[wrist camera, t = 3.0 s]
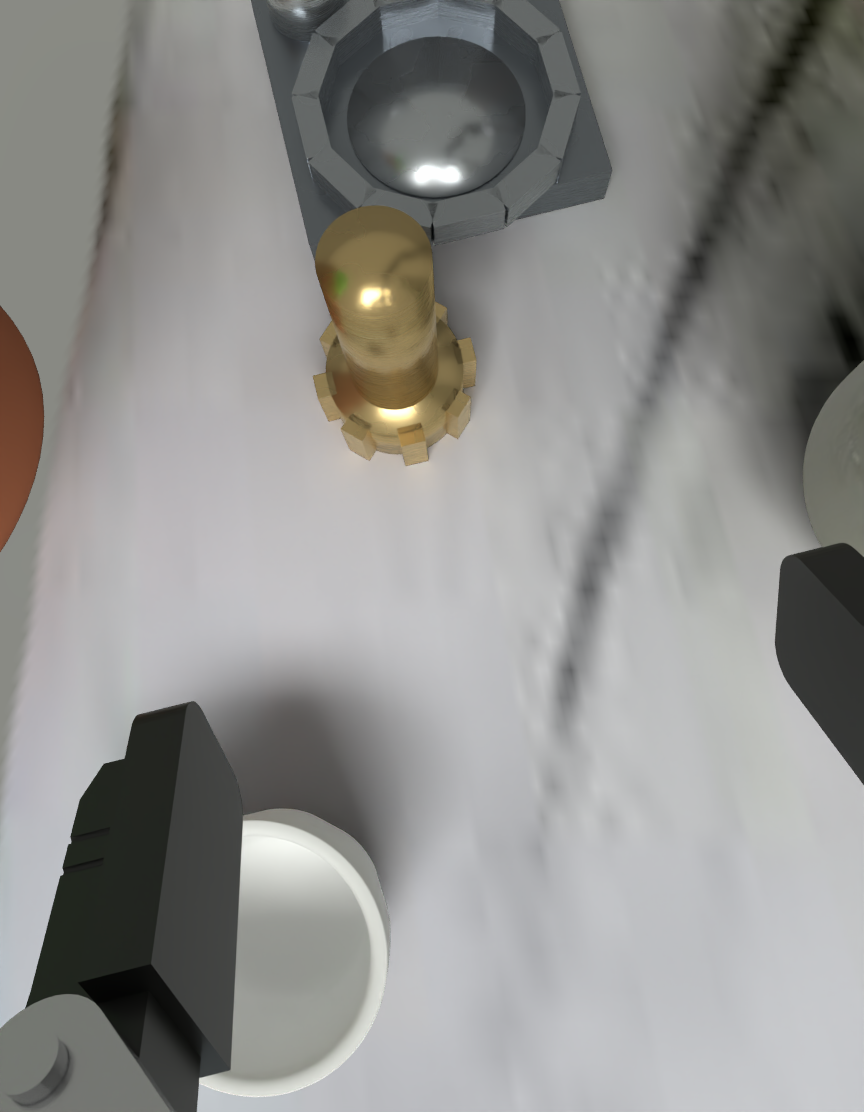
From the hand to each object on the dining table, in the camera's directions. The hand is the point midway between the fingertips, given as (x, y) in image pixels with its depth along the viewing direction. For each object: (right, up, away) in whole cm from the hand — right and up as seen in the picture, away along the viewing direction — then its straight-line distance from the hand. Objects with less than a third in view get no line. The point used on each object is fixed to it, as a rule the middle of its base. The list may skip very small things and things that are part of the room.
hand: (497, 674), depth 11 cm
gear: (-2, +8, +21) cm, 22 cm away
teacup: (-7, -10, +18) cm, 22 cm away
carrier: (-1, +20, +23) cm, 31 cm away
